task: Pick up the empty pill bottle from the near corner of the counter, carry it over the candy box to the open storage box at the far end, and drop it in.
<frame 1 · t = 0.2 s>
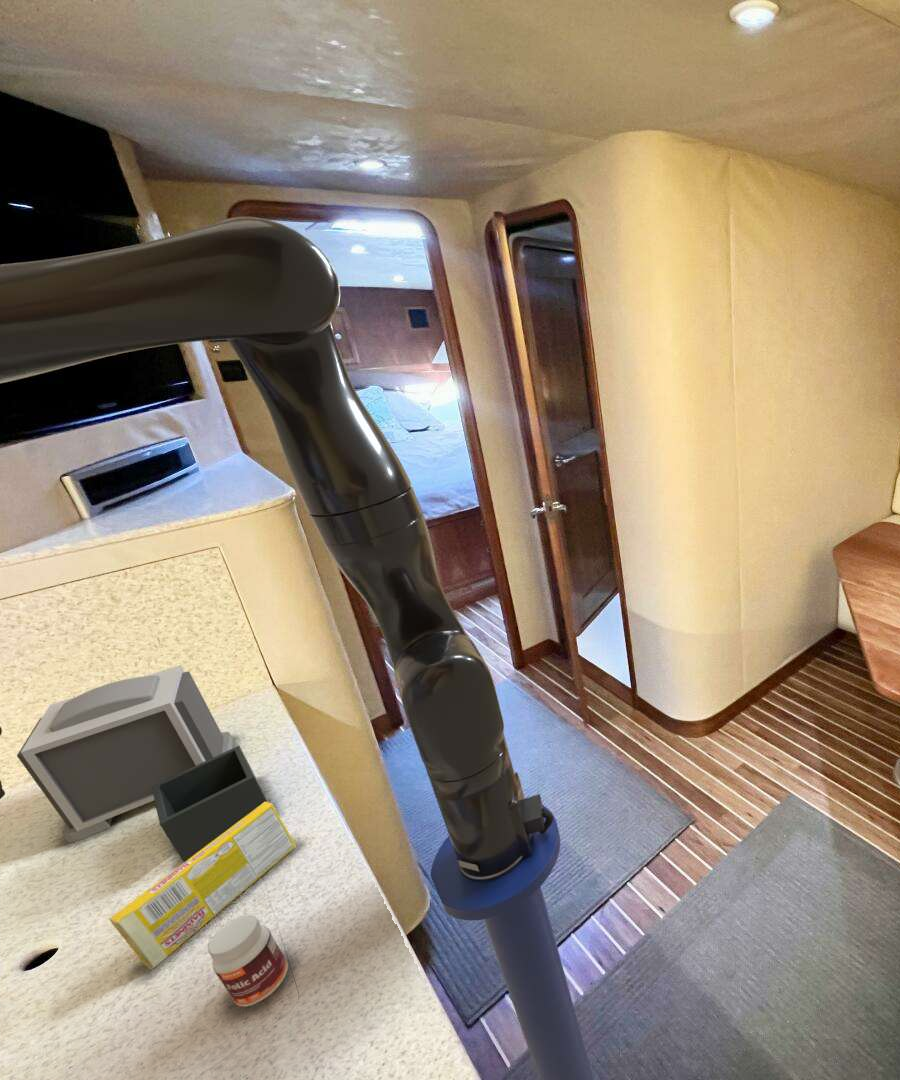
crt monitor: (159, 785, 87), on the counter
open storage box: (224, 819, 80), on the counter
pill bottle: (263, 983, 59), on the counter
candy box: (227, 901, 68), on the counter
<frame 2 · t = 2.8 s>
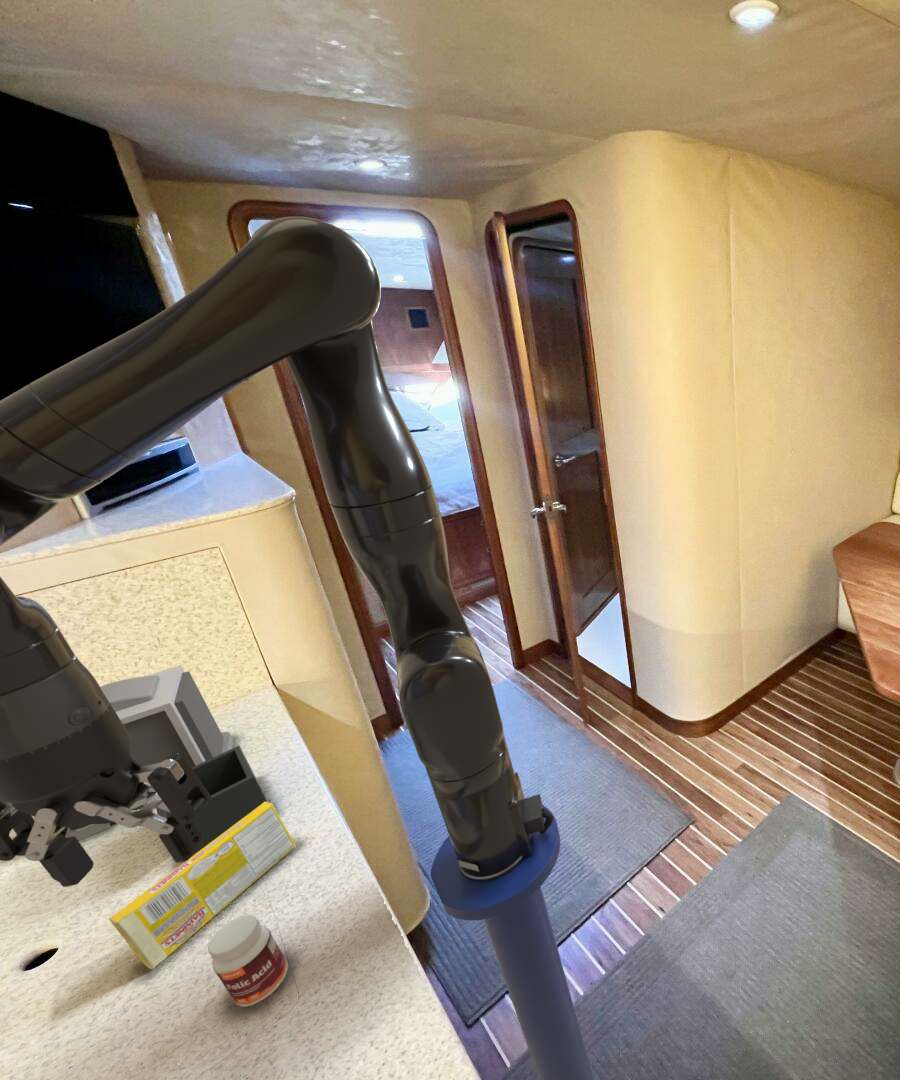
hand: (135, 865, 48), 22 cm above the counter, tool pointing down, fingers open, 8 cm apart
nothing on the counter moved.
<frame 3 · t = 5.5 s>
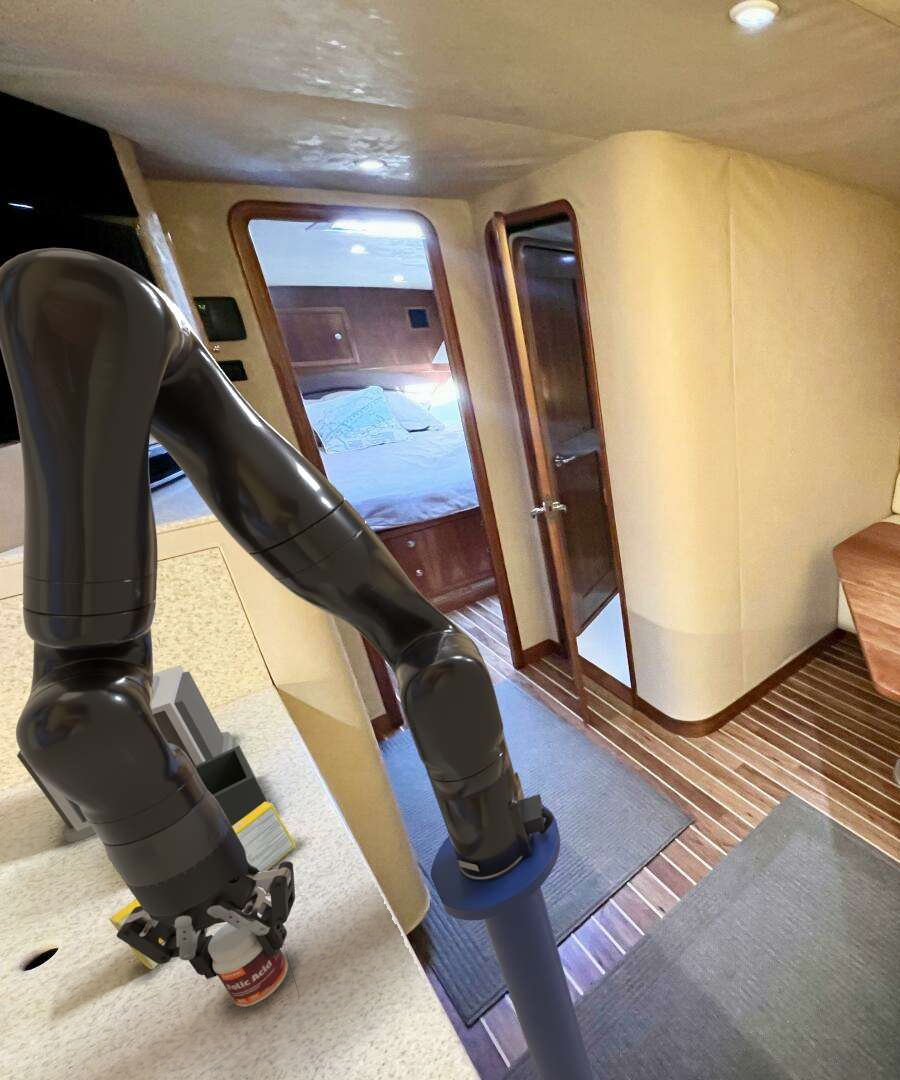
hand: (247, 957, 57), 4 cm above the counter, tool pointing down, fingers closed on pill bottle, 4 cm apart
pill bottle: (263, 983, 59), on the counter, touching gripper
everything else where it was.
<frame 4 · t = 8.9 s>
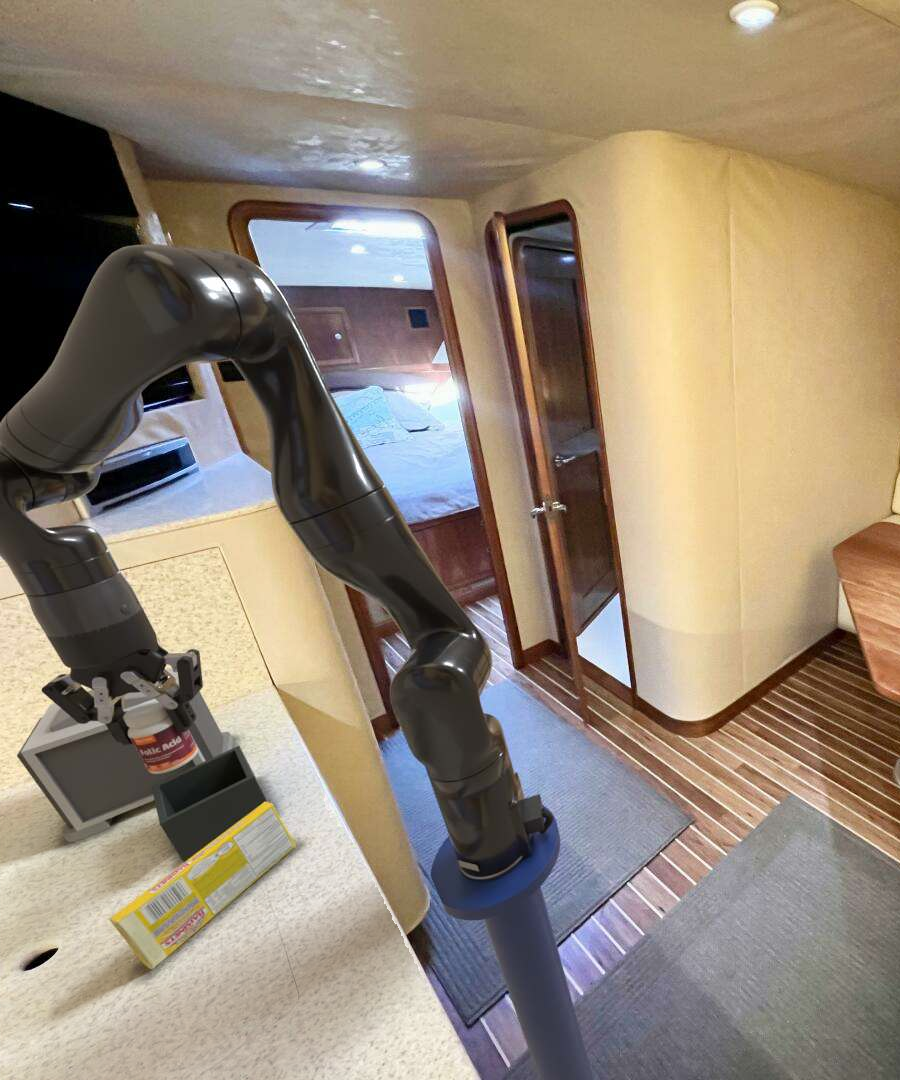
hand: (159, 733, 67), 21 cm above the counter, tool pointing down, fingers closed on pill bottle, 4 cm apart
pill bottle: (175, 762, 69), point 16 cm above the counter, touching gripper
everything else where it was.
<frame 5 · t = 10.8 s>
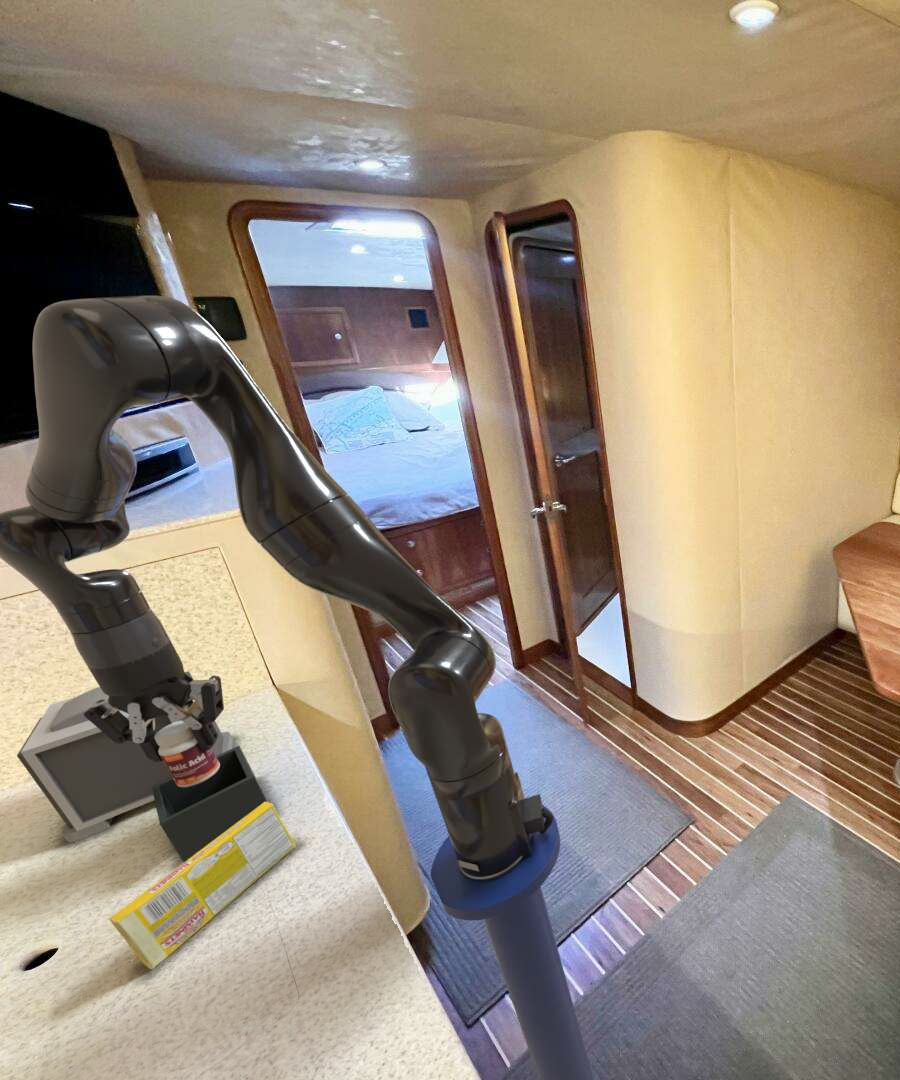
hand: (186, 751, 75), 13 cm above the counter, tool pointing down, fingers closed on pill bottle, 4 cm apart
pill bottle: (200, 776, 76), point 9 cm above the counter, touching gripper
everything else where it was.
when the fingers open (9 cm above the counter, at t = 12.4 s): pill bottle drops 4 cm, resting on open storage box.
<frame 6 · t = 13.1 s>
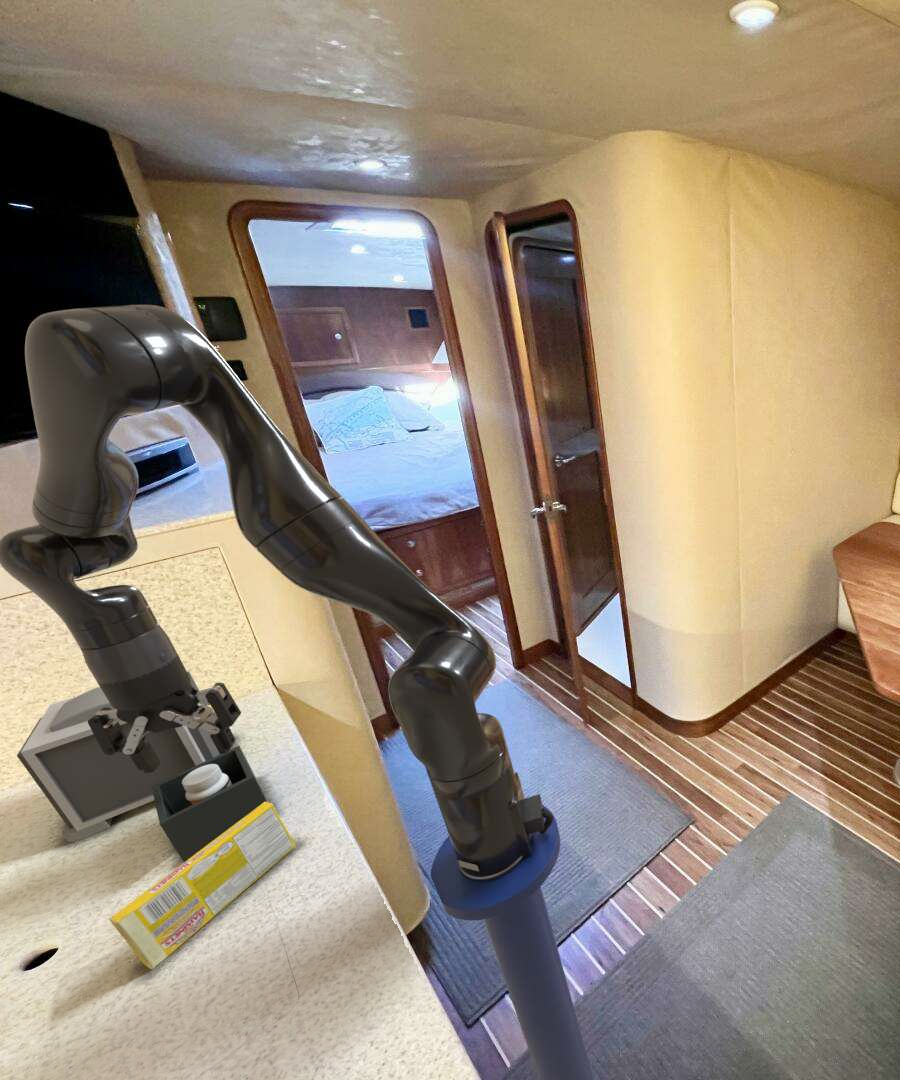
hand: (191, 759, 75), 12 cm above the counter, tool pointing down, fingers open, 8 cm apart
pill bottle: (224, 817, 80), resting on open storage box
everything else where it was.
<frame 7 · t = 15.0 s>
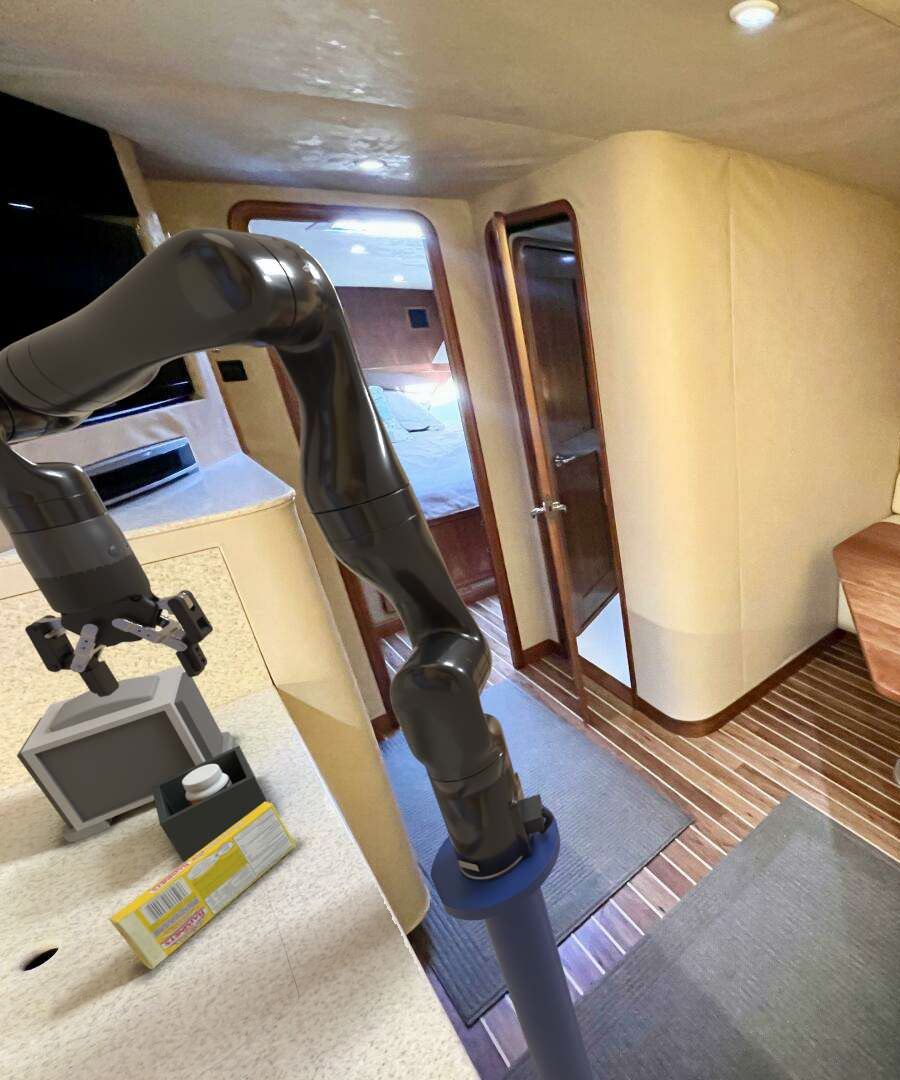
hand: (154, 682, 64), 29 cm above the counter, tool pointing down, fingers open, 8 cm apart
nothing on the counter moved.
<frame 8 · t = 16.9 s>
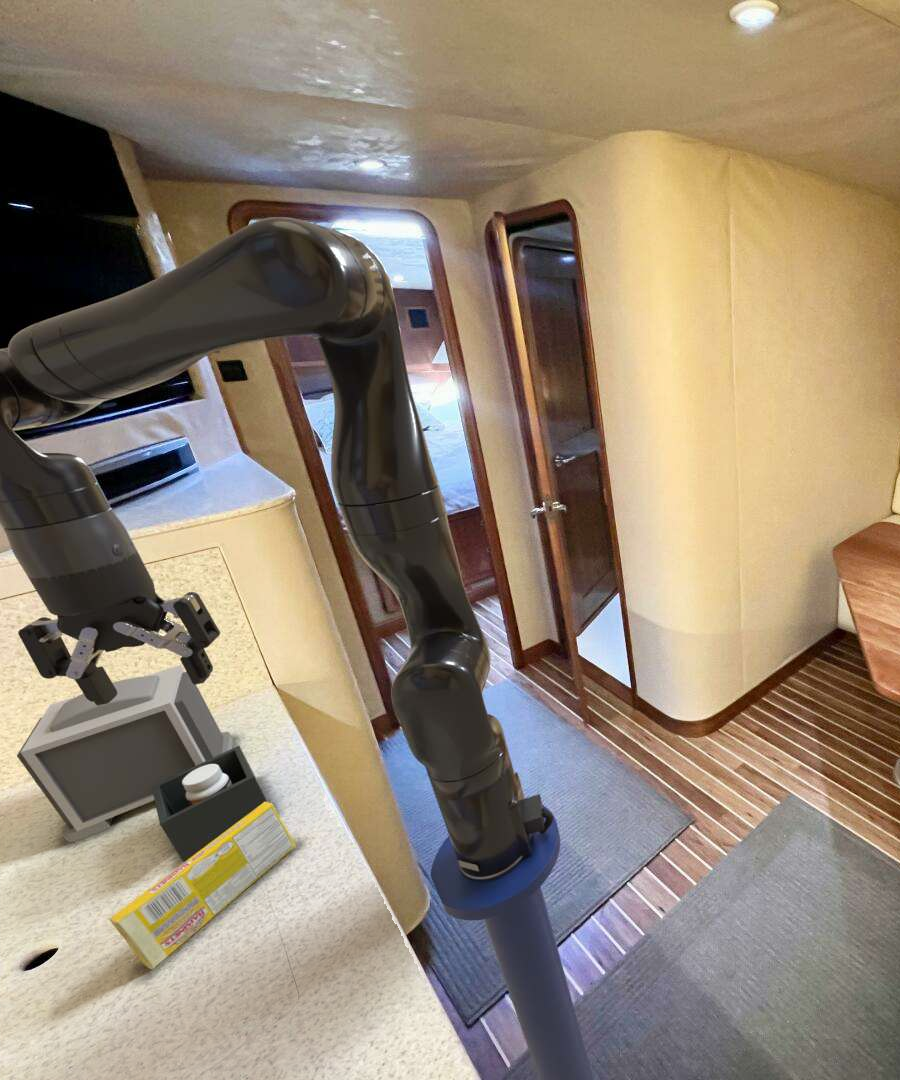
hand: (156, 690, 60), 30 cm above the counter, tool pointing down, fingers open, 8 cm apart
nothing on the counter moved.
at the end: pill bottle inside the target area in the open storage box (0.2 cm from its centre), point 0.4 cm above the open storage box's base; the gripper is holding nothing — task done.
